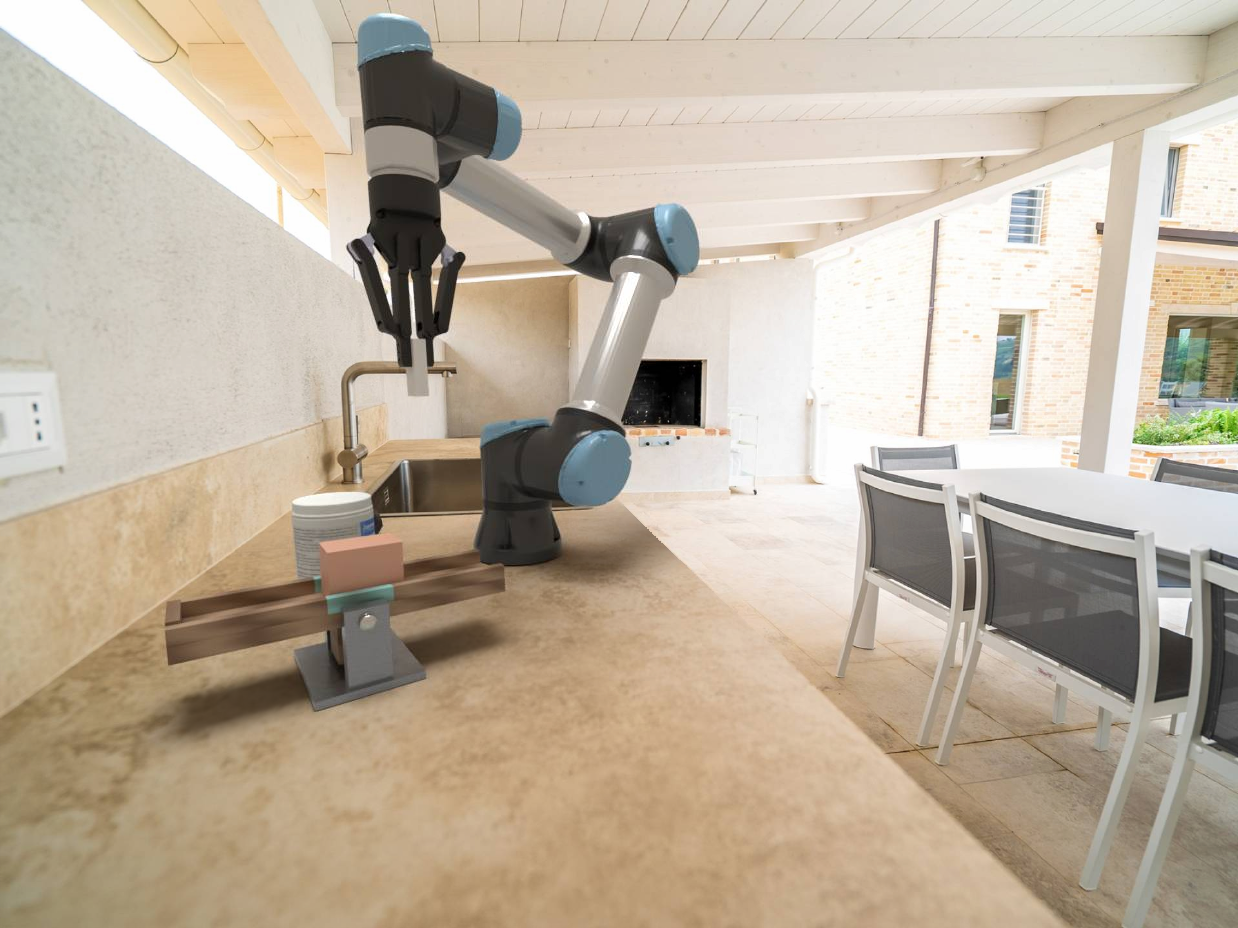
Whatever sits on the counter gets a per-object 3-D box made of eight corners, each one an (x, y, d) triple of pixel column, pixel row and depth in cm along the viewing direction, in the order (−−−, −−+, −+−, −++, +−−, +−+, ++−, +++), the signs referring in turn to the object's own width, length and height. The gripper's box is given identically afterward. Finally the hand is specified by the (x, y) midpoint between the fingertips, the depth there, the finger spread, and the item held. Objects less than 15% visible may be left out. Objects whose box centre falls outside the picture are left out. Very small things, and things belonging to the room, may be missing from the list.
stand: (389, 632, 68) (385, 564, 67) (426, 678, 58) (422, 598, 57) (294, 656, 63) (287, 581, 61) (315, 711, 52) (308, 623, 51)
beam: (477, 608, 72) (476, 546, 71) (506, 630, 66) (504, 562, 65) (175, 678, 54) (167, 597, 53) (173, 717, 48) (164, 627, 47)
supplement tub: (386, 610, 75) (379, 499, 73) (303, 627, 70) (294, 508, 68) (371, 588, 83) (365, 488, 81) (296, 602, 78) (287, 495, 76)
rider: (392, 581, 64) (390, 532, 63) (404, 593, 60) (402, 541, 59) (321, 594, 59) (318, 542, 59) (330, 608, 56) (327, 552, 55)
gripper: (446, 200, 71) (457, 393, 75) (331, 179, 63) (350, 397, 66) (473, 184, 65) (484, 394, 69) (351, 159, 57) (370, 399, 61)
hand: (418, 396), depth 68 cm, fingers closed
